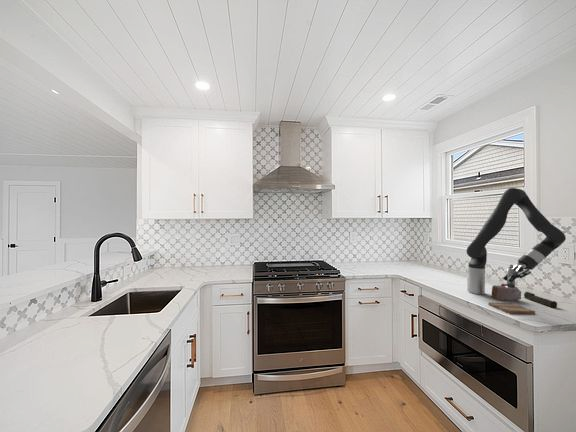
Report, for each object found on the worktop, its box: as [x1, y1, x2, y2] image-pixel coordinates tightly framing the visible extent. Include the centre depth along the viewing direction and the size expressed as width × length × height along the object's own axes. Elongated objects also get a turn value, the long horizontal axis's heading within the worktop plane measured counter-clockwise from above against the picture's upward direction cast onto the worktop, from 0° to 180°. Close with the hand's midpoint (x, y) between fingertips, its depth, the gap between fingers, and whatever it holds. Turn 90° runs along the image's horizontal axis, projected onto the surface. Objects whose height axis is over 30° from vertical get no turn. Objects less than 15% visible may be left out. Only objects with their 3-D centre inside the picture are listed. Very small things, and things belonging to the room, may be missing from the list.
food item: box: [491, 283, 522, 302], centre depth 162 cm, size 14×8×10 cm, turn 85°
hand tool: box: [523, 291, 558, 309], centre depth 157 cm, size 19×4×5 cm, turn 177°
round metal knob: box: [504, 267, 519, 290], centre depth 145 cm, size 6×6×11 cm
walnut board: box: [488, 301, 536, 315], centre depth 145 cm, size 14×14×2 cm
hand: (506, 280), depth 145 cm, fingers closed on round metal knob, 3 cm apart
